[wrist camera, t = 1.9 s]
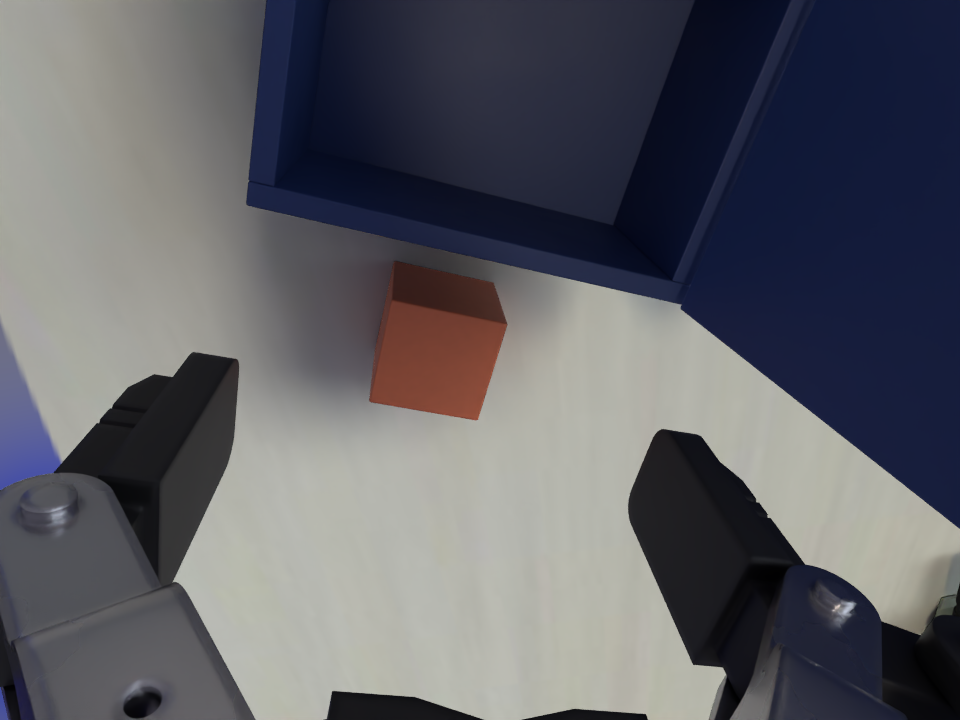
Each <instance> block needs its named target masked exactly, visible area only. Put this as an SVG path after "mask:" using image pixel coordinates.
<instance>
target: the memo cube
mask: <svg viewBox="0 0 960 720" xmlns="http://www.w3.org/2000/svg"><path fill="white" fill-rule="evenodd" d="M506 327H507V322H506V319H505V316H504V313H503V310H502V307H501V304H500V301H499V298H498V295H497V292H496V289H495V286H494V283H492V282H488V281H483V280H479V279H474V278H470V277H465V276H461V275H456V274H451V273H447V272H442V271H438V270H433V269H429V268H424V267H420V266H415V265H411V264H406V263H402V262H397V261H394V263H393V268H392V273H391V277H390V282H389V287H388V292H387V296H386V301H385V306H384V310H383V315H382V320H381V324H380V329H379V334H378V338H377V343H376V348H375V354H374V363H373V372H372V380H371V389H370V398H369V401H370V402H373V403H379V404H384V405H390V406H396V407H402V408H408V409H413V410H419V411H425V412H431V413H437V414H442V415H448V416H454V417H460V418H466V419H471V420H478V417H479V414H480V411H481V408H482V405H483V401H484V398H485V395H486V392H487V389H488V385H489V382H490V379H491V376H492V372H493V369H494V366H495V363H496V360H497V356H498V353H499V350H500V347H501V344H502V340H503V337H504V334H505V331H506Z"/></svg>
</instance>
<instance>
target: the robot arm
mask: <svg viewBox="0 0 960 720" xmlns="http://www.w3.org/2000/svg"><path fill="white" fill-rule="evenodd" d="M238 378H239V363H238V360H237V359H233V358H227V357H221V356H215V355H208V354H202V353H196V352H192V353H191V354H190V355H189V356H188V358H187V359H186V360H185V362H184V363H183V364H182V366H181V367H180V368H179V369H178V371H177V372H176V373H175V375H174V376H173V377H168V376H161V375H155V374H154V375H152V376H150V377H148V378H146V379H144V380H142V381H140V382H138V383H136V384H134V385H132V386H130V387H128V388H127V389H126V390H125V391H124V393H123V394H122V395H121V396H120V397H119V398H118V399H117V401H116V402H115V403H114V404H113V407H112V409H111V408H110V409H109V410H108V411H107V412H106V413H105V414H104V416H103V417H102V418H101V419H100V423H97V424H96V425H95V426H94V427H93V428H92V429H91V430H90V432H89V433H88V434H87V435H86V436H85V437H84V438H83V440H82V441H81V442H80V443H79V444H78V445H77V446H76V448H75V449H74V450H73V451H72V452H71V453H70V455H69V456H68V457H67V458H66V459H65V460H64V461H63V463H62V464H61V465H60V466H59V467H58V468H57V470H56V471H55V472H54V473H52V474H45V475H39V476H35V477H31V478H27V479H24V480H22V481H19V482H16V483H13V484H11V485H10V486H7V487H5V488H3V489H2V490H0V687H1V690H2V694H3V698H4V703H5V707H6V711H7V715H8V719H9V720H256V719H255V718H254V716H253V714H252V712H251V710H250V708H249V707H248V705H247V703H246V701H245V699H244V697H243V695H242V694H241V692H240V690H239V688H238V686H237V684H236V682H235V681H234V679H233V677H232V675H231V673H230V671H229V669H228V668H227V666H226V664H225V662H224V660H223V658H222V657H221V655H220V653H219V651H218V649H217V647H216V645H215V644H214V642H213V640H212V638H211V636H210V634H209V632H208V631H207V629H206V627H205V625H204V623H203V621H202V619H201V618H200V616H199V614H198V612H197V610H196V608H195V607H194V605H193V603H192V601H191V599H190V597H189V596H188V594H187V592H186V591H185V589H184V588H183V587H182V586H181V585H180V584H179V583H177V582H173V580H174V578H175V576H176V574H177V572H178V570H179V567H180V565H181V563H182V561H183V559H184V557H185V555H186V552H187V550H188V548H189V546H190V544H191V542H192V540H193V538H194V535H195V533H196V531H197V529H198V527H199V525H200V523H201V520H202V518H203V516H204V514H205V512H206V510H207V508H208V506H209V503H210V501H211V499H212V497H213V495H214V493H215V491H216V488H217V486H218V484H219V482H220V480H221V478H222V476H223V474H224V471H225V469H226V467H227V464H228V461H229V458H230V454H231V450H232V445H233V440H234V431H235V418H236V405H237V391H238ZM628 513H629V519H630V523H631V525H632V527H633V530H634V532H635V534H636V536H637V539H638V541H639V543H640V546H641V548H642V550H643V552H644V555H645V557H646V559H647V561H648V564H649V566H650V568H651V570H652V573H653V575H654V577H655V579H656V582H657V584H658V586H659V589H660V591H661V593H662V595H663V598H664V600H665V602H666V604H667V607H668V609H669V611H670V613H671V616H672V618H673V620H674V622H675V625H676V627H677V629H678V632H679V634H680V636H681V638H682V641H683V643H684V645H685V647H686V650H687V652H688V654H689V656H690V659H691V661H692V663H693V665H703V666H714V667H723V668H724V670H725V672H726V676H725V677H724V679H723V681H722V682H721V684H720V686H719V688H718V690H717V693H716V697H715V700H714V703H713V706H712V710H711V713H710V716H709V720H960V617H957V616H953V615H939V616H936V617H935V618H934V619H933V620H932V622H931V623H930V624H929V626H928V627H927V628H926V630H925V631H924V632H923V634H922V635H918V634H915V633H912V632H910V631H907V630H904V629H901V628H898V627H896V626H893V625H890V624H887V623H884V622H882V621H881V619H880V617H879V614H878V612H877V611H876V609H875V607H874V606H873V605H872V603H871V602H870V601H869V600H868V599H867V598H866V597H865V596H864V595H863V594H862V593H861V592H860V591H859V590H858V589H856V588H855V587H854V586H852V585H851V584H850V583H848V582H847V581H845V580H844V579H842V578H840V577H839V576H837V575H835V574H833V573H831V572H829V571H826V570H824V569H821V568H818V567H814V566H810V565H805V564H804V562H803V561H802V560H801V558H800V557H799V556H798V554H797V553H796V552H795V550H794V549H793V548H792V546H791V545H790V544H789V542H788V541H787V540H786V538H785V537H784V535H783V534H782V533H781V531H780V530H779V529H778V527H777V526H776V525H775V523H774V522H773V521H772V519H771V518H767V515H768V514H767V513H766V511H765V510H764V509H763V507H762V506H761V505H760V503H757V502H756V498H755V497H754V495H753V494H752V493H751V491H750V490H749V489H748V487H747V486H746V485H745V483H744V482H743V481H742V480H741V479H740V478H739V477H738V476H736V475H735V474H734V473H733V472H732V471H730V470H729V469H728V468H727V467H725V466H724V465H723V464H722V463H720V462H719V460H718V459H717V457H716V456H715V455H714V453H713V452H712V450H711V449H710V448H709V446H708V445H707V444H706V442H705V441H704V439H703V438H702V437H701V436H699V435H697V434H691V433H684V432H678V431H672V430H666V429H661V430H659V431H658V432H657V433H656V434H655V436H654V437H653V439H652V442H651V444H650V446H649V449H648V451H647V454H646V456H645V458H644V461H643V463H642V466H641V468H640V470H639V473H638V475H637V478H636V480H635V482H634V485H633V487H632V490H631V493H630V496H629V504H628ZM172 582H173V583H172ZM325 720H483V719H480V718H477V717H474V716H471V715H468V714H465V713H462V712H459V711H456V710H452V709H449V708H446V707H443V706H440V705H437V704H434V703H431V702H428V701H425V700H422V699H419V698H416V697H405V696H392V695H378V694H365V693H351V692H338V691H332V695H331V701H330V706H329V711H328V716H327V719H325ZM523 720H648V719H647V716H646V714H636V713H622V712H609V711H595V710H581V709H572V710H567V711H562V712H557V713H552V714H547V715H543V716H538V717H533V718H528V719H523Z"/></svg>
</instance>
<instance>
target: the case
mask: <svg viewBox="0 0 960 720" xmlns="http://www.w3.org/2000/svg"><path fill="white" fill-rule="evenodd" d="M814 3H815V0H266V9H265V19H264V29H263V39H262V49H261V59H260V69H259V79H258V89H257V99H256V109H255V119H254V129H253V139H252V149H251V159H250V169H249V182H248V190H247V200H246V204H247V205H248V206H252V207H256V208H260V209H265V210H269V211H274V212H278V213H282V214H287V215H291V216H295V217H300V218H304V219H309V220H313V221H317V222H322V223H326V224H331V225H335V226H339V227H344V228H348V229H352V230H357V231H361V232H366V233H370V234H374V235H379V236H383V237H388V238H392V239H396V240H401V241H405V242H409V243H414V244H418V245H423V246H427V247H431V248H436V249H440V250H445V251H449V252H453V253H458V254H462V255H466V256H471V257H475V258H480V259H484V260H488V261H493V262H497V263H502V264H506V265H510V266H515V267H519V268H523V269H528V270H532V271H537V272H541V273H545V274H550V275H554V276H559V277H563V278H567V279H572V280H576V281H580V282H585V283H589V284H594V285H598V286H602V287H607V288H611V289H616V290H620V291H624V292H629V293H633V294H637V295H642V296H646V297H651V298H655V299H659V300H664V301H668V302H673V303H677V304H682V303H683V301H684V299H685V296H686V294H687V292H688V290H689V287H690V285H691V283H692V280H693V278H694V276H695V274H696V271H697V269H698V267H699V265H700V262H701V260H702V258H703V255H704V253H705V251H706V249H707V246H708V244H709V242H710V239H711V237H712V235H713V233H714V230H715V228H716V226H717V223H718V221H719V219H720V217H721V214H722V212H723V210H724V208H725V205H726V203H727V201H728V198H729V196H730V194H731V192H732V189H733V187H734V185H735V182H736V180H737V178H738V176H739V173H740V171H741V169H742V167H743V164H744V162H745V160H746V157H747V155H748V153H749V151H750V148H751V146H752V144H753V141H754V139H755V137H756V135H757V132H758V130H759V128H760V126H761V123H762V121H763V119H764V116H765V114H766V112H767V110H768V107H769V105H770V103H771V100H772V98H773V96H774V94H775V91H776V89H777V87H778V85H779V82H780V80H781V78H782V75H783V73H784V71H785V69H786V66H787V64H788V62H789V59H790V57H791V55H792V53H793V50H794V48H795V46H796V44H797V41H798V39H799V37H800V34H801V32H802V30H803V28H804V25H805V23H806V21H807V18H808V16H809V14H810V12H811V9H812V7H813V5H814Z"/></svg>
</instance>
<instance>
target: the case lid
mask: <svg viewBox="0 0 960 720" xmlns="http://www.w3.org/2000/svg"><path fill="white" fill-rule="evenodd" d="M681 310H683V311H684V312H685V313H686V314H688V315H689V316H690V317H692V318H693V319H694V320H695V321H697V322H698V323H699V324H700V325H702V326H703V327H704V328H705V329H707V330H708V331H709V332H711V333H712V334H713V335H714V336H716V337H717V338H718V339H719V340H721V341H722V342H723V343H725V344H726V345H727V346H728V347H730V348H731V349H732V350H733V351H735V352H736V353H737V354H738V355H740V356H741V357H742V358H744V359H745V360H746V361H747V362H749V363H750V364H751V365H752V366H754V367H755V368H756V369H758V370H759V371H760V372H761V373H763V374H764V375H765V376H766V377H768V378H769V379H770V380H771V381H773V382H774V383H775V384H777V385H778V386H779V387H780V388H782V389H783V390H784V391H785V392H787V393H788V394H789V395H791V396H792V397H793V398H794V399H796V400H797V401H798V402H799V403H801V404H802V405H803V406H804V407H806V408H807V409H808V410H810V411H811V412H812V413H813V414H815V415H816V416H817V417H818V418H820V419H821V420H822V421H824V422H825V423H826V424H827V425H829V426H830V427H831V428H832V429H834V430H835V431H836V432H837V433H839V434H840V435H841V436H843V437H844V438H845V439H846V440H848V441H849V442H850V443H851V444H853V445H854V446H855V447H857V448H858V449H859V450H860V451H862V452H863V453H864V454H865V455H867V456H868V457H869V458H870V459H872V460H873V461H874V462H876V463H877V464H878V465H879V466H881V467H882V468H883V469H884V470H886V471H887V472H888V473H890V474H891V475H892V476H893V477H895V478H896V479H897V480H898V481H900V482H901V483H902V484H903V485H905V486H906V487H907V488H909V489H910V490H911V491H912V492H914V493H915V494H916V495H917V496H919V497H920V498H921V499H923V500H924V501H925V502H926V503H928V504H929V505H930V506H931V507H933V508H934V509H935V510H936V511H938V512H939V513H940V514H942V515H943V516H944V517H945V518H947V519H948V520H949V521H950V522H952V523H953V524H954V525H956V526H957V527H958V528H959V529H960V0H815V3H814V5H813V7H812V9H811V12H810V14H809V16H808V18H807V21H806V23H805V25H804V28H803V30H802V32H801V34H800V37H799V39H798V41H797V44H796V46H795V48H794V50H793V53H792V55H791V57H790V59H789V62H788V64H787V66H786V69H785V71H784V73H783V75H782V78H781V80H780V82H779V85H778V87H777V89H776V91H775V94H774V96H773V98H772V100H771V103H770V105H769V107H768V110H767V112H766V114H765V116H764V119H763V121H762V123H761V126H760V128H759V130H758V132H757V135H756V137H755V139H754V141H753V144H752V146H751V148H750V151H749V153H748V155H747V157H746V160H745V162H744V164H743V167H742V169H741V171H740V173H739V176H738V178H737V180H736V182H735V185H734V187H733V189H732V192H731V194H730V196H729V198H728V201H727V203H726V205H725V208H724V210H723V212H722V214H721V217H720V219H719V221H718V223H717V226H716V228H715V230H714V233H713V235H712V237H711V239H710V242H709V244H708V246H707V249H706V251H705V253H704V255H703V258H702V260H701V262H700V265H699V267H698V269H697V271H696V274H695V276H694V278H693V280H692V283H691V285H690V287H689V290H688V292H687V294H686V296H685V299H684V301H683V303H682V306H681Z"/></svg>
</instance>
